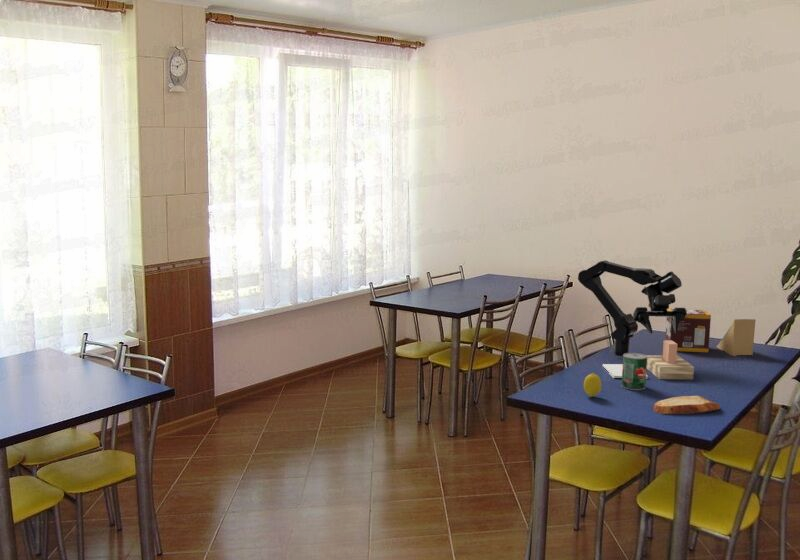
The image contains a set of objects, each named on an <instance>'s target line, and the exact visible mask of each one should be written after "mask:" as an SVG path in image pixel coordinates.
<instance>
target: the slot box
mask: <svg viewBox="0 0 800 560" xmlns="http://www.w3.org/2000/svg"><path fill="white" fill-rule="evenodd" d="M645 355H646V354H645ZM646 356H647V369H646V370H648V371H649V372H650V373H651V374H653V375H654V376H655V377H656V378H658V380H694V374H695V373H694V371H695V367H694V365H692V364H691V363H690V362H688V361H686V360H685V359H683V358H682V357H681V356H679V355H677V360H676V363H666V362H665V361H663V360H662V358H663V355H656V354H655V355H648V354H647V355H646Z"/></svg>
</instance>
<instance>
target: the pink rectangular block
mask: <svg viewBox="0 0 800 560" xmlns="http://www.w3.org/2000/svg"><path fill="white" fill-rule="evenodd" d="M662 343H663V345H662V356H663V358H662V360H663V361H665V362H666V363H676V360H677V356H678V351H677V345H678V344H677V343H675V342H674V341H672V340H663V342H662Z"/></svg>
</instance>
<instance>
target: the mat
mask: <svg viewBox="0 0 800 560" xmlns="http://www.w3.org/2000/svg"><path fill="white" fill-rule="evenodd" d="M602 366H603V367H604V368H605V369H606V370H607V371H608V372H609V373H608V372H607V371H606V370H605V369H604V368H603V367H602ZM602 366H601V367H602V368H603V369H604V370H605V371H606V372H607V373H608V375H610V377H612V378H613V379H614V378H622V369H623V363H619V364H617V363H613V364H612V363H607V364H605V363H602ZM648 378H649V375H647V374H646V380H648Z"/></svg>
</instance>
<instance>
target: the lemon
mask: <svg viewBox="0 0 800 560" xmlns="http://www.w3.org/2000/svg"><path fill="white" fill-rule="evenodd" d="M583 390H584V392H585V393H586V395H588V396H590V397H591V398H594V397H595V396H597V395H598V394H599V393H600V392H601V390H602V381H601V378H600V376H599V375H597V374H595V373H594V372H591V373H590V374H588V375H587V376H585V378H584V381H583Z"/></svg>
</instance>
